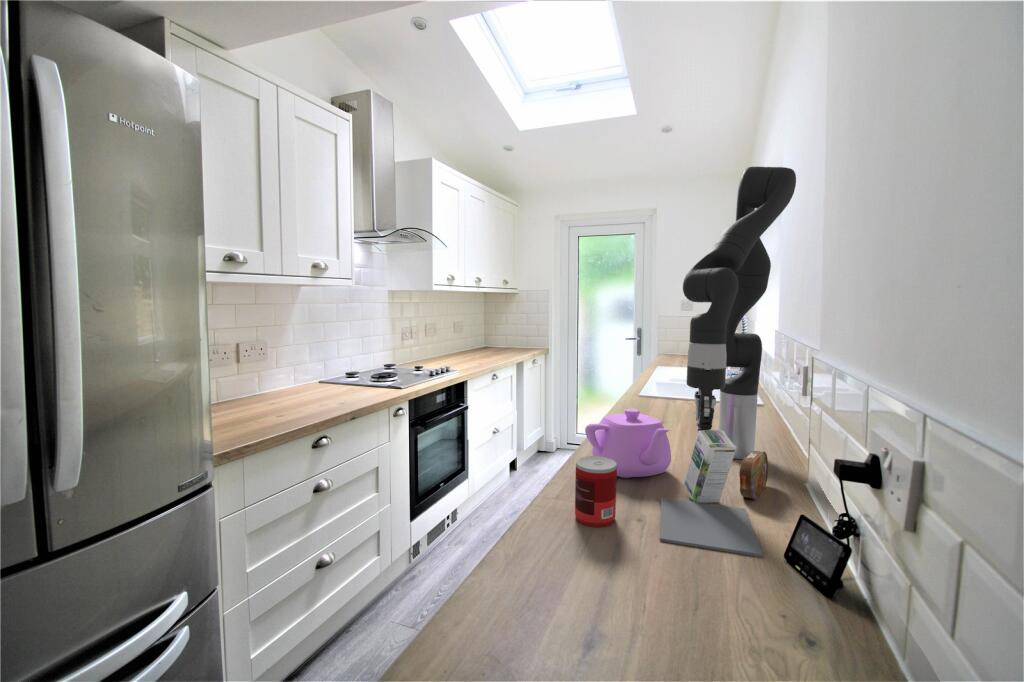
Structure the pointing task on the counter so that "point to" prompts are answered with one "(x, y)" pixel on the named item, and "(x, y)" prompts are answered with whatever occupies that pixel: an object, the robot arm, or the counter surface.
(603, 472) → the canned food
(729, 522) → the mat
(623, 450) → the teapot
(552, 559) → the counter surface
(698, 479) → the syrup box
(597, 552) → the counter surface
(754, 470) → the tin
